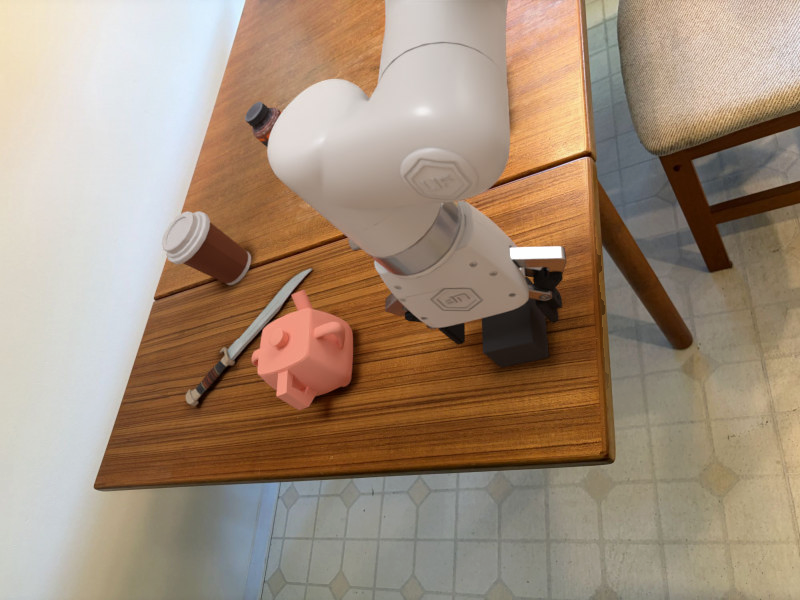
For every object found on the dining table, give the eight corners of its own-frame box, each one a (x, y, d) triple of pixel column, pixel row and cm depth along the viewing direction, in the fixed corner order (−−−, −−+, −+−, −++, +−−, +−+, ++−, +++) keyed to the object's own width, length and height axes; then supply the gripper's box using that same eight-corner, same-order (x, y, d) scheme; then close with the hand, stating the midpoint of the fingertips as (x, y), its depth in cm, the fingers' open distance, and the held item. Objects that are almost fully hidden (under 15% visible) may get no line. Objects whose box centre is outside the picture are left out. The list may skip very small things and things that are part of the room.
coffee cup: (216, 266, 97) (156, 230, 89) (253, 234, 95) (195, 194, 86) (220, 302, 91) (156, 268, 83) (260, 270, 88) (198, 230, 80)
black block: (543, 294, 56) (527, 276, 54) (549, 357, 53) (532, 341, 50) (498, 306, 59) (480, 289, 56) (501, 367, 55) (482, 353, 53)
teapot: (334, 308, 74) (282, 274, 67) (383, 350, 65) (330, 316, 59) (282, 378, 74) (224, 351, 67) (324, 430, 65) (263, 404, 58)
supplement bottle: (320, 140, 96) (272, 94, 88) (304, 169, 95) (254, 125, 87) (299, 140, 100) (252, 97, 92) (284, 168, 99) (234, 126, 91)
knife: (301, 255, 82) (311, 269, 78) (309, 261, 83) (318, 275, 79) (182, 386, 84) (185, 406, 80) (191, 391, 85) (194, 411, 81)
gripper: (318, 297, 44) (428, 372, 57) (523, 231, 36) (601, 336, 48) (328, 222, 48) (430, 307, 60) (516, 146, 40) (590, 263, 52)
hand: (506, 320), depth 54 cm, fingers open, 9 cm apart
